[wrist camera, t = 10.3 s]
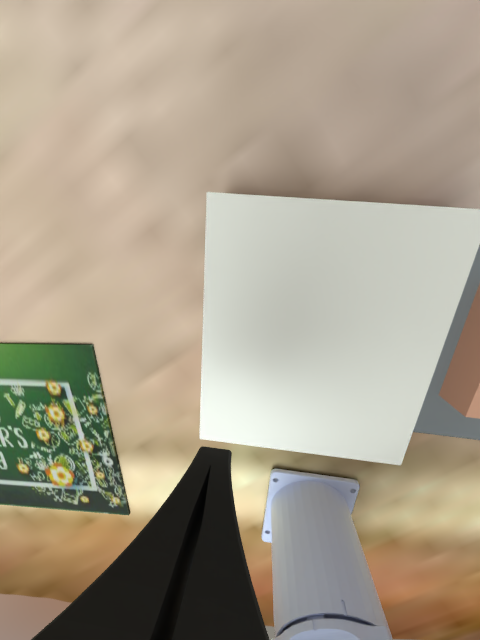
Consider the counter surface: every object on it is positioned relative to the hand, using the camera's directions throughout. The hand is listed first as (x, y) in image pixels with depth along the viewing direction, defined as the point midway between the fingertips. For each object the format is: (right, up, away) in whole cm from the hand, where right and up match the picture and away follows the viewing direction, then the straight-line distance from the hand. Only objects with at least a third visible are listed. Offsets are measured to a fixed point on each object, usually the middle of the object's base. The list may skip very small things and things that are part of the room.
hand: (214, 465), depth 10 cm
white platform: (+6, +6, +7) cm, 11 cm away
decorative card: (-27, -5, +15) cm, 32 cm away
